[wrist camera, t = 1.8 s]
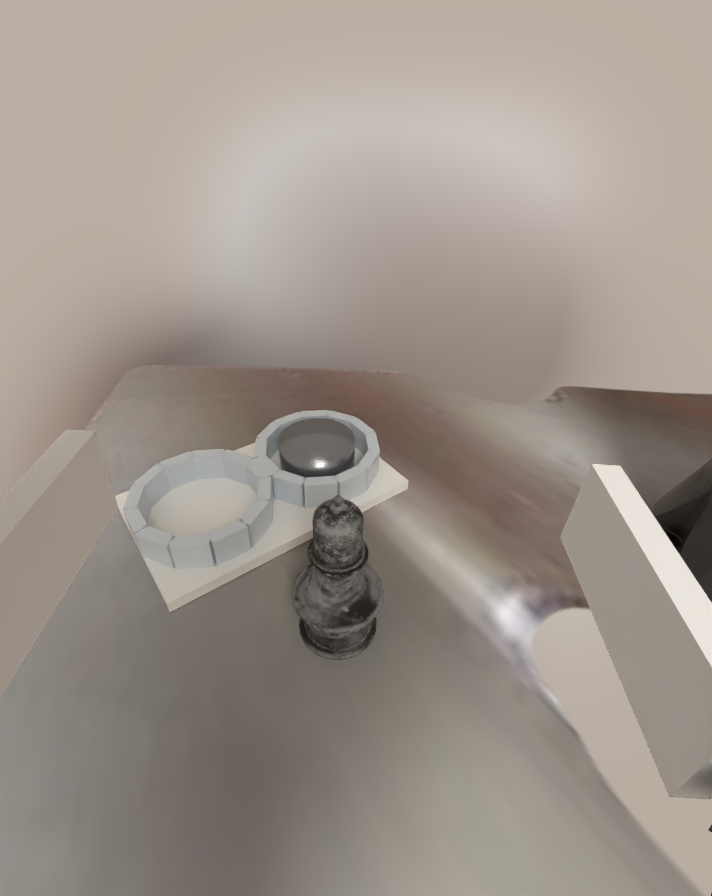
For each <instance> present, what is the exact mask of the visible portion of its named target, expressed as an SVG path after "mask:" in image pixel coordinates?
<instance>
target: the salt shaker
mask: <svg viewBox="0 0 712 896" xmlns="http://www.w3.org/2000/svg"><path fill="white" fill-rule="evenodd" d="M312 522H313V540H312V541H311V543H310V545H309V547H308V552H307V554H308V560H309V562H310V565H308V566H307V567H305V568H304V570H303V571H302V572H301V573H300V574H299V575H298V577H297V579H296V581H295V583H294V586H293V591H292V598H293V605H294V607H295V610H296V612H297V614H298V615H299V616H300V623H299V626H300V634H301V636H302V639H303V641H304V643H305V644H306V645H307V646H308V648H309V649H310V650H311V651H313V652H314V653H316V654H317V655H319V656H322V657H325V658H328V659H337V660H341V659H346V658H351V657H353V656H355V655H357V654H359V653H361V652H362V651H363V650H364V649H366V648H367V647H368V645H369V644H370V643H371V641H372V640H373V637H374V634H375V631H376V617H375V616H376V615H377V614H378V612H379V611H380V608H381V605H382V602H383V587H382V583H381V580H380V578H379V577H378V575H377V574H376V572H375V571H374V570H373V569H372V568H371V567H370V566H369V565H367V564H366V562H367V559H368V548H367V545H366V543H365V542H364V540H363V515H362V512H361V510H360V509H359V507H358V506H356V505H355V504H354V503H353V502H351V501H349V500H346V499H343V497H341V496H340V495H336V496H335V497H334V498H332V499H330V500H327V501H325V502H323V503H322V504H320V505H319V506H318V507H317V508H316V510H315V512H314V515H313V520H312Z"/></svg>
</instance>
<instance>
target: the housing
mask: <svg viewBox="0 0 712 896" xmlns="http://www.w3.org/2000/svg"><path fill="white" fill-rule="evenodd" d="M300 412H301V414H300V413H299V412H296V413H293V414H290V415H287V416H285V417H282V418H279V419H276V420H274V422H271V423H270V424H269V425H268V426H267V427H266V428H265V429H264V430H263V431H262V432H261V433H260V434H259V435H258V436H257V438H256V442H255V443H252V444H250V445H247V446H245V447H242V448H239V449H237V450H234V451H232V450H228V449H226V450H224V449H210V450H193V451H192V453H191V452H190V451H188V452H186V453H183V454H180V455H177V456H175V457H172V458H169V459H166V460H164V461H161V462H159V463H160V464H155V465H154V466H153V467H152V468H151V469H149V470H148V471H147V472H146V473H145V474H143V475H142V476H141V477H140V478H138V479H137V480H136V481H135V482H134V483H133V484H134V485H131V488H130V490H129V491H126V492H124V493H121V494H118V495H116V496H115V498H116V501H117V504H118V507H119V509H118V510H119V512H120V514H121V516H122V518H123V520H124V522H125V524H126V526H127V528H128V530H129V532H130V534H131V536H132V538H133V540H134V542H135V544H136V546H137V548H138V550H139V552H140V554H141V556H142V558H143V560H144V562H145V564H146V566H147V568H148V570H149V572H150V574H151V576H152V578H153V580H154V582H155V584H156V586H157V588H158V589H159V591H160V593H161V595H162V597H163V599H164V601H165V603H166V605H167V607H168V609H169V611H170V612H171V611H173V610H175V609H177V608H179V607H181V606H183V605H185V604H187V603H189V602H191V601H193V600H195V599H196V598H198V597H200V596H202V595H204V594H206V593H208V592H210V591H212V590H214V589H216V588H218V587H220V586H222V585H223V584H225V583H227V582H229V581H231V580H233V579H235V578H237V577H239V576H241V575H243V574H245V573H247V572H248V571H250V570H252V569H254V568H256V567H258V566H260V565H262V564H264V563H266V562H268V561H270V560H272V559H274V558H275V557H277V556H279V555H281V554H283V553H285V552H287V551H289V550H291V549H293V548H295V547H297V546H299V545H301V544H302V543H304V542H306V541H308V540H310V539H312V538H313V522H312V520H313V515H314V512H315V510H316V508H317V507H318V506H319V505H320V504H322V503H323V502H325V501H327V500H330V499H332V498H334V497H335V496H336V495H340V496H341V497H343V499H346V500H349V501H351V502H353V503H354V504H355V505H356V506H358V507H359V509H360V510H361V512H364V511H366V510H368V509H370V508H372V507H374V506H376V505H378V504H380V503H381V502H383V501H385V500H387V499H389V498H391V497H393V496H395V495H397V494H399V493H401V492H403V491H405V490H406V489H408V480H407V479H406V478H405V477H403V476H402V475H401V474H400V473H398V472H397V471H396V470H395V469H394V468H392V467H391V466H390V465H389V464H387V463H386V462H385V461H384V460H382V459H381V458H380V457H379V455H380V449H379V445H378V441H377V437H376V433H375V432H374V430H373V429H371V428H370V427H369V426H367V425H366V424H365V423H363V422H362V421H361V420H360V419H358V418H355V417H354V416H351V415H347V414H343V413H339V412H335V411H331V410H330V411H329V412H328V410H316V411H300ZM312 418H324V419H331V420H335V421H338V422H340V423H342V424H344V425H346V426H347V427H348V428H349V429H350V430H351V431H352V432H353V434H354V437H355V460H354V467H353V468H351V469H348V470H346V471H344V472H342V473H340V474H337V475H335V476H323V477H306V478H305V477H302V476H299V475H296V474H292V473H289V472H286V471H283V470H281V463H280V452H279V437H280V435H281V433H282V432H283V430H284V429H286V428H287V427H288V426H290V425H291V424H293V423H295V422H298V421H301V420H305V419H312Z"/></svg>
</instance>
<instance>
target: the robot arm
mask: <svg viewBox="0 0 712 896" xmlns="http://www.w3.org/2000/svg"><path fill="white" fill-rule="evenodd" d="M118 509H119V507H118V504H117V501H116V498H115V494H114V491H113V488H112V485H111V482H110V478H109V475H108V472H107V469H106V465H105V462H104V459H103V456H102V452H101V449H100V446H99V443H98V440H97V436H96V433H95V431H81V430H65V431H64V432H63V433H62V434H61V435H60V436H59V437H58V438H57V439H56V440H55V442H54V443H53V444H52V445H51V446H50V447H49V448H48V449H47V450H46V451H45V452H44V453H43V454H42V456H41V457H40V458H39V459H38V460H37V461H36V462H35V463H34V464H33V465H32V466H31V467H30V468H29V470H28V471H27V472H26V473H25V474H24V475H23V476H22V477H21V478H20V479H19V480H18V481H17V482H16V483H15V484H14V486H13V487H12V488H11V489H10V490H9V491H8V492H7V493H6V494H5V495H4V496H3V497H2V498H1V499H0V698H1V697H2V695H3V694H4V692H5V690H6V689H7V687H8V686H9V684H10V682H11V681H12V679H13V678H14V676H15V674H16V673H17V671H18V670H19V668H20V666H21V665H22V663H23V662H24V660H25V658H26V657H27V655H28V653H29V652H30V650H31V649H32V647H33V645H34V644H35V642H36V641H37V639H38V637H39V636H40V634H41V633H42V631H43V629H44V628H45V626H46V625H47V623H48V621H49V620H50V618H51V617H52V615H53V613H54V612H55V610H56V609H57V607H58V605H59V604H60V602H61V601H62V599H63V597H64V596H65V594H66V593H67V591H68V589H69V588H70V586H71V585H72V583H73V581H74V580H75V578H76V577H77V575H78V573H79V572H80V570H81V569H82V567H83V565H84V564H85V562H86V561H87V559H88V557H89V556H90V554H91V553H92V551H93V549H94V548H95V546H96V545H97V543H98V541H99V540H100V538H101V537H102V535H103V533H104V532H105V530H106V529H107V527H108V525H109V524H110V522H111V520H112V519H113V517H114V516H115V514H116V512H117V511H118ZM560 538H561V540H562V543H563V545H564V547H565V550H566V552H567V555H568V557H569V559H570V562H571V564H572V566H573V569H574V571H575V574H576V576H577V578H578V581H579V583H580V585H581V588H582V590H583V593H584V595H585V597H586V600H587V602H588V604H589V607H590V609H591V612H592V614H593V616H594V619H595V621H596V623H597V626H598V628H599V631H600V633H601V635H602V637H603V640H604V642H605V645H606V647H607V650H608V652H609V654H610V657H611V659H612V661H613V664H614V666H615V669H616V671H617V673H618V676H619V678H620V680H621V683H622V685H623V687H624V690H625V692H626V694H627V697H628V699H629V702H630V704H631V707H632V709H633V711H634V714H635V716H636V719H637V721H638V723H639V726H640V728H641V730H642V733H643V735H644V738H645V740H646V742H647V745H648V747H649V749H650V752H651V754H652V757H653V759H654V761H655V764H656V766H657V768H658V770H659V773H660V775H661V778H662V780H663V783H664V785H665V787H666V790H667V792H668V795H669V797H683V798H699V799H711V798H712V459H711V460H710V461H709V462H708V463H706V464H705V465H704V466H702V467H701V468H700V469H699V470H697V471H696V472H695V473H693V474H692V475H691V476H689V477H688V478H687V479H686V480H684V481H683V482H682V483H680V484H679V485H678V486H676V487H675V488H674V489H672V490H671V491H670V492H669V493H667V494H666V495H665V496H663V497H662V498H661V499H660V500H659V501H658V502H657V503H656V505H655V506H654V507H653V509H652V511H650V509H649V508H648V506H647V505H646V503H645V502H644V500H643V499H642V497H641V496H640V494H639V493H638V491H637V490H636V488H635V487H634V485H633V484H632V482H631V481H630V479H629V478H628V476H627V475H626V473H625V472H624V470H623V469H622V467H621V466H616V465H601V464H591V467H590V469H589V471H588V474H587V476H586V478H585V481H584V483H583V485H582V488H581V490H580V492H579V494H578V497H577V499H576V501H575V504H574V506H573V508H572V511H571V513H570V515H569V518H568V520H567V522H566V525H565V527H564V529H563V532H562V534H561V536H560ZM709 831H711V832H712V825H711V826H710V828H709ZM711 896H712V894H711Z"/></svg>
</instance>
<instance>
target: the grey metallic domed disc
mask: <svg viewBox="0 0 712 896" xmlns="http://www.w3.org/2000/svg"><path fill="white" fill-rule="evenodd" d="M279 452H280V463H281V470H283V471H286V472H289V473H292V474H296V475H299V476H302V477H305V478H306V477H323V476H335V475H337V474H340V473H342V472H344V471H346V470H348V469H351V468H353V467H354V460H355V437H354V434H353V432H352V431H351V430H350V429H349V428H348V427H347V426H346V425H344V424H342V423H340V422H338V421H335V420H331V419H324V418H312V419H305V420H301V421H298V422H295V423H293V424H291V425H290V426H288V427H287V428H286V429H284V430H283V432H282V433H281V435H280V437H279Z"/></svg>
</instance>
